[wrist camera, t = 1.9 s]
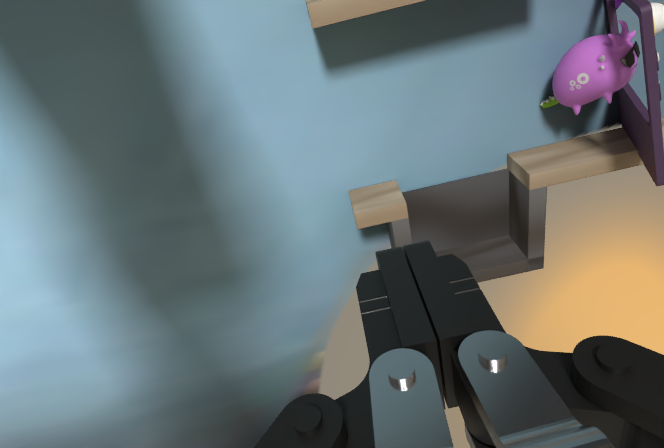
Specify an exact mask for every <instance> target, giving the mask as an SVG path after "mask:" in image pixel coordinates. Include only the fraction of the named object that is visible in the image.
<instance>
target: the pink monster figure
mask: <svg viewBox="0 0 664 448" xmlns="http://www.w3.org/2000/svg"><path fill="white" fill-rule="evenodd" d="M622 2H624V3H625V4H626V5H628V6H629V7H630V8H631V9H632V10H633V11H634V12H635V13H636V15H637V16H638V18H639V22H640V32H641V43H642V53H643V63H644V74H645V84H646V94H647V105H648V110H647V109H646V107H645V106H644V104H643V103H642V102H641V100H640V99H639V97H638V96H637V95H636V93H635V92H634V90H633V89H632V88H631V86H630V85H629V83H628V82H629V81H630V79H631V78H632V76H633V74H634V72H635V69H636V66H637V61H638V57H639V54H640V51H639V47H638V44H637V42H636V41H635V44H633V43H632V42H631V39H632V38H633V37H634V36H635V33H636V31H635V30H634V31H633V32H631V33H629V31H628V26H627V24H626V22H624V21H621V20H620V21H619V22H620V24H621V26H622V32H621V33H620V34H619V31H618V23H617V15H616V10H617V9H618V7H619V6H620V5H621V3H622ZM615 4H616V7H615ZM606 8H607V15H608V23H609V30H610V34H608V35H596V36H592V37H588V38H586V39H584V40H582V41H580V42H578V43H577V44H575V45H574V46H573V47H572V48H571V49H569V51H568V52H567V53H566V54H565V55H564V56H563V57H562V59H561V60H560V62H559V64H558V65H557V67H556V70H555V72H554V76H553V82H552V86H553V92H554V94H553V95H554V97H552V96H551V97H552V98H551V97H550V96H549V99H548V100H547V99H546V101H544V100H543V103H542V102H541V104H540V105H542V108H547V107H552V106H554V105H556V104H559V103H561V104H562V105H564V106H567V107H572V108H573V110H574V113H575V115H578V114H579V112H580V109H581V106H582V105H585V104H587V103H589V102H592V101H594V100H596V99H598V98H601V97H604V98H605V99H606V100H607V101H608V103H611V101H612V94H613V93H614V92H616V91H618V98H619V106H620V113H621V121H622V127H623V129H624V130H625V132H626V133H627V135H628V136H629V138H630V139H631V141H632V143H633V144H634V146H635V147H636V149H637V151H638V155H639V157H640V158H641V160H642V162H643V163H644V165H645V167H646V169H647V170H648V172H649V174H650V176H651V177H652V179H653V181H654V182H655V184H656V186H661V185H664V147H663V134H662V122H661V110H660V100H661V92H660V83H659V81H658V73H657V71H659V67H658V62H659V55H658V52H657V51H656V48H655V36H654V35H655V34H657V33H659V32H660V31H661V30H662V29H663V28H664V5H662V4H660V3H650V2H649V1H647V0H606Z"/></svg>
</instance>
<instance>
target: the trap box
mask: <svg viewBox="0 0 664 448" xmlns="http://www.w3.org/2000/svg"><path fill="white" fill-rule="evenodd" d="M421 1H425V0H306V3H307V8H308V12H309V17H310V21H311V25H312V28H317V27H321V26H325V25H329V24H333V23H337V22H341V21H345V20H349V19H353V18H357V17H361V16H365V15H369V14H373V13H377V12H381V11H385V10H389V9H393V8H397V7H401V6H405V5H409V4H413V3H417V2H421ZM661 122H662V134H663V147H664V118H661ZM507 164H508V169H503V170H499V171H495V172H490V173H486V174H482V175H477V176H473V177H469V178H464V179H460V180H456V181H451V182H447V183H443V184H438V185H434V186H430V187H425V188H421V189H417V190H412V191H408V192H403V193H401V190H400V188H399V186H398V184H397V182H396V180H393V181H389V182H385V183H380V184H376V185H372V186H367V187H363V188H359V189H354V190H350V191H349V195H350V199H351V204H352V208H353V212H354V216H355V220H356V225H357V229H361V228H365V227H370V226H374V225H378V224H383V223H387V225H388V231H389V236H390V242H391V248H396V247H400V246H401V248H402V250H403V246H404V245H409V244H413V243H418V242H422V241H427V240H429V241H430V243H431V245H432V247H433V249H434V251H435V253H436V256H437V257H439V256H444V255H448V254H453V255H455V256H456V257H458V258H459V259H460V260H462V261H463V262H465V263H466V264H467V266H468V268H469V270H470V271H471V273H472V275H473V277H474V279H475V280H476V282H482V281H486V280H491V279H495V278H501V277H504V276H510V275H514V274H519V273H523V272H528V271H532V270H537V269H541V268H543V264H544V242H545V241H544V240H545V219H546V197H547V186H550V185H555V184H559V183H563V182H568V181H572V180H577V179H581V178H585V177H589V176H594V175H599V174H603V173H607V172H612V171H616V170H620V169H625V168H629V167H634V166H638V165H642V164H644V163H643V162H642V160H641V158H640V157H639V155H638V151H637V149H636V147H635V146H634V144H633V143H632V141H631V139H630V138H629V136H628V135H627V133H626V132H625V130H624V129H623V127H622V128H618V129H613V130H609V131H605V132H600V133H596V134H592V135H587V136H583V137H579V138H575V139H570V140H566V141H562V142H557V143H553V144H549V145H544V146H540V147H536V148H531V149H527V150H523V151H518V152H514V153H510V154H507Z"/></svg>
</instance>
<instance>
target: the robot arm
mask: <svg viewBox="0 0 664 448" xmlns="http://www.w3.org/2000/svg"><path fill="white" fill-rule="evenodd" d="M376 258H377V263H378V268H379V270H376V271H371V272H366V273H362V274H361V275H360V278H359V281H358V283H357V286H356V290H357V295H358V300H359V305H360V310H361V316H362V321H363V326H364V331H365V336H366V342H367V347H368V353H369V358H370V366H369V370H368V373H367V375H366V377H365V378H364V380H363V381H362V382H361V383H360V385H359V386H357V387H356V388H355V389H354V390H352V391H350V392H349V393H347V394H345V395H343V396H341V397H339V398H338V399H336V400H333V399H332V398H330V397H329V396H326V395H323V394H307V395H303V396H301V397H298V398H296V399H295V400H293V401H292V402H290V403H289V404H288V405H287V406H286V407H285V408H284V409H283V411H282V412H281V413H280V414H279V416H278V417H277V418H276V420H275V421H274V422H273V424H272V425H271V426H270V428H269V429H268V430H267V432H266V433H265V434H264V435H263V437H262V438H261V439H260V441H259V442H258V443H257V445H256V446H255V447H254V448H453V444H452V439H451V436H450V431H449V427H448V423H447V420H446V415H445V411H444V409H445V402H444V398H445V401H446V404H447V406H448V408H452V407H457V406H459V408H460V411H461V413H462V416H463V418H464V422H465V432H466V437H467V440H468V442H469V444H470V447H471V448H664V355H662V354H659V353H657V352H655V351H652V350H650V349H647V348H645V347H642V346H640V345H637V344H634V343H632V342H630V341H627V340H624V339H621V338H617V337H613V336H612V337H611V336H593V337H590V338H587V339H584V340H582V341H581V342H579V343H578V344H577V345H576V347H575V349H574V351H573V353H563V352H547V351H539V350H534V349H531V348H528V347H525V346H523V345H522V343H521V342H520V341H518V340H517V339H516V338H514V337H513V336H511V335H509V334H507V333H506V332H505V331H504V329H503V327H502V326H501V324H500V322H499V321H498V319H497V317H496V315H495V314H494V312H493V310H492V308H491V306H490V305H489V303H488V301H487V300H486V298H485V296H484V294H483V292H482V291H481V290H480V288H479V285H478V284H477V282H476V280H475V279H474V277H473V275H472V273H471V271H470V270H469V268H468V266H467V264H466V263H465V262H463V261H462V260H460V259H459V258H458V257H456V256H455V255H453V254H448V255H444V256H439V257H437V256H436V253H435V251H434V249H433V247H432V245H431V243H430V241H429V240H427V241H422V242H418V243H413V244H409V245H404V246H403V250H402V248H401V246H400V247H396V248H391V249H387V250H382V251H377V252H376Z"/></svg>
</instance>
